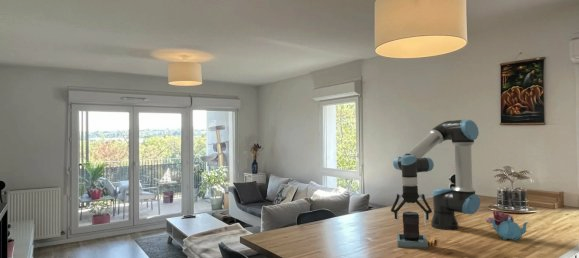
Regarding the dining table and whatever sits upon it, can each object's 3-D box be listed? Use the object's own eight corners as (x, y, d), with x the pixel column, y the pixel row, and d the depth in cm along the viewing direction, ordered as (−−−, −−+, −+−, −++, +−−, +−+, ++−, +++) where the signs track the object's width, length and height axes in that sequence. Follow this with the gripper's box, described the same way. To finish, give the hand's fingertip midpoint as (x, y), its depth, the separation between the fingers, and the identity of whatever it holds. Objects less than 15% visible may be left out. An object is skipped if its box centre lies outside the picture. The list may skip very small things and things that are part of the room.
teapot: (530, 241, 182) (529, 221, 183) (508, 243, 180) (508, 223, 180) (510, 234, 195) (509, 216, 195) (489, 236, 192) (488, 218, 192)
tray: (425, 240, 188) (424, 234, 188) (428, 248, 174) (427, 242, 174) (396, 238, 192) (396, 233, 192) (397, 246, 178) (397, 240, 178)
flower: (481, 223, 209) (486, 208, 208) (488, 222, 220) (493, 207, 219) (509, 235, 199) (515, 218, 198) (514, 233, 209) (520, 217, 209)
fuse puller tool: (431, 239, 189) (430, 237, 189) (435, 240, 188) (435, 237, 188) (429, 245, 179) (429, 242, 179) (433, 245, 178) (433, 242, 178)
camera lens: (400, 240, 187) (400, 211, 187) (415, 239, 187) (414, 211, 188) (407, 244, 178) (406, 214, 179) (422, 243, 179) (421, 214, 180)
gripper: (434, 183, 184) (436, 224, 183) (385, 183, 191) (387, 223, 190) (436, 186, 177) (438, 228, 176) (385, 185, 183) (386, 226, 183)
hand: (411, 225), depth 183 cm, fingers open, 13 cm apart
